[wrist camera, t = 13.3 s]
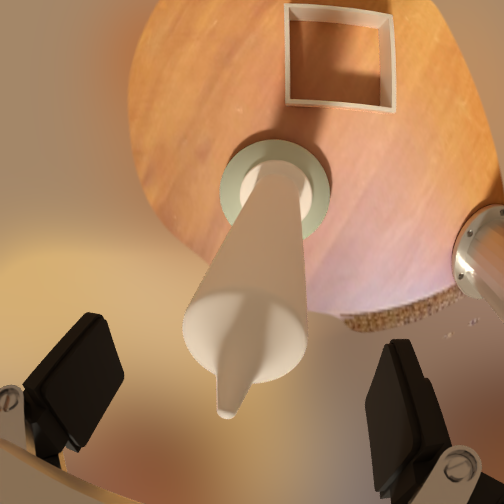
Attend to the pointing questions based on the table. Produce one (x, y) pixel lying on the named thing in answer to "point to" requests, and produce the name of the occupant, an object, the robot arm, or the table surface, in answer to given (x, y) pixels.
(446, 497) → the robot arm
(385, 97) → the tray
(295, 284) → the candle
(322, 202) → the pale green dome
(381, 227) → the table surface
